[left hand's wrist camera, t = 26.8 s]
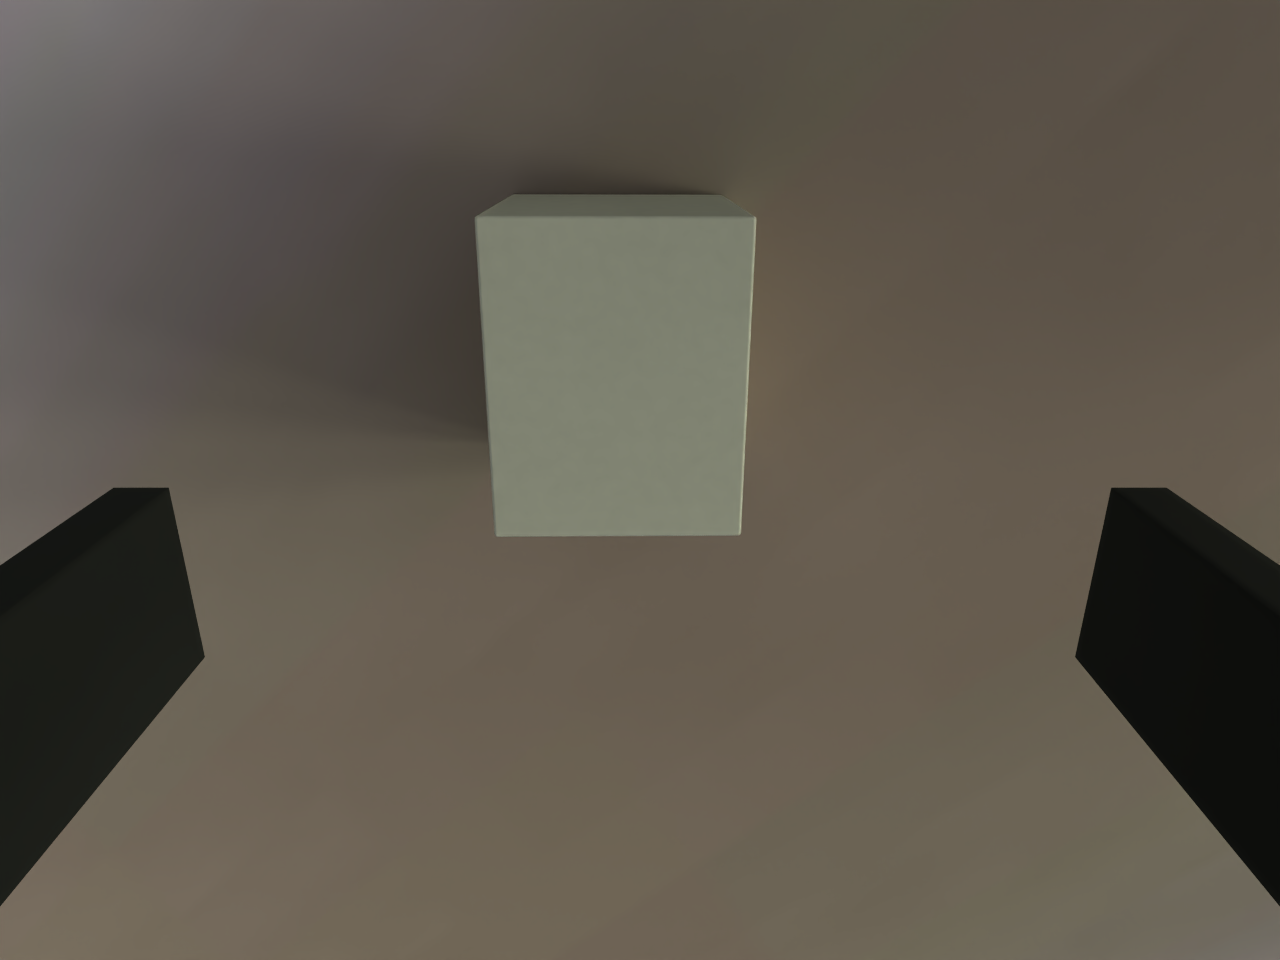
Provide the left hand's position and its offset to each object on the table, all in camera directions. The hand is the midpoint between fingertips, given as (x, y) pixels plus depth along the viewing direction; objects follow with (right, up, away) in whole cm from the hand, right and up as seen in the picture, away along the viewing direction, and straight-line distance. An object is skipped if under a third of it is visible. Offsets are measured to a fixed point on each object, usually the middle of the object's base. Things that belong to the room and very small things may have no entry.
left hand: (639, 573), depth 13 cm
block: (-1, +6, +16) cm, 18 cm away
